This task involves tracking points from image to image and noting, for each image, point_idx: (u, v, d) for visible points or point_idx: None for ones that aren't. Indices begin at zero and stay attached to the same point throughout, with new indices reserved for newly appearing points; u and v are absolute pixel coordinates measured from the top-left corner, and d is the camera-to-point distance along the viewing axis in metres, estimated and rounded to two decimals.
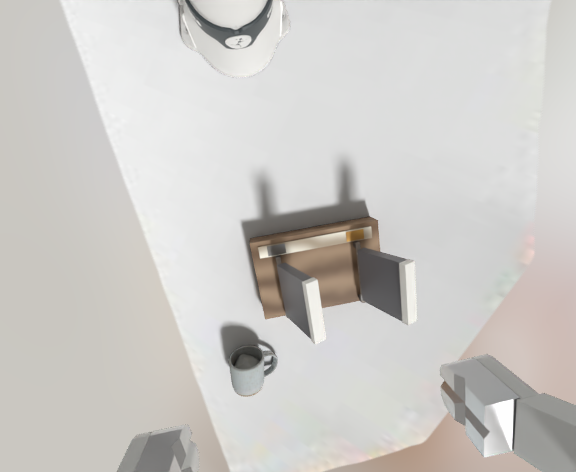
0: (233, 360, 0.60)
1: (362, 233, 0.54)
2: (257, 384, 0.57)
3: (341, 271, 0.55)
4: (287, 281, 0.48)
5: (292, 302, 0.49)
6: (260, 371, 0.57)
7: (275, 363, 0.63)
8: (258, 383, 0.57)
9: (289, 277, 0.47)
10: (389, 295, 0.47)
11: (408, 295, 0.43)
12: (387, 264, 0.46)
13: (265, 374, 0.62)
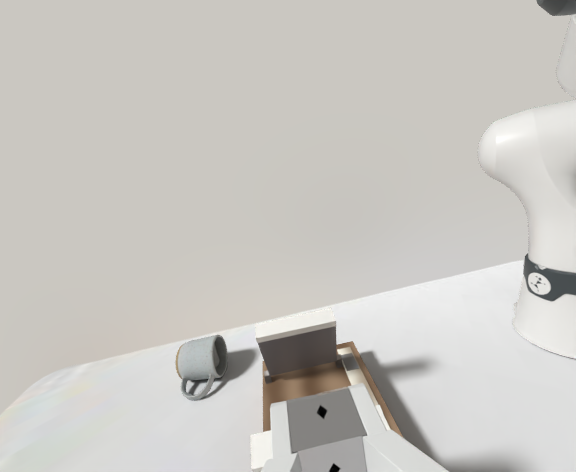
0: (218, 351, 0.56)
1: None
2: (188, 354, 0.50)
3: None
4: None
5: None
6: (201, 358, 0.50)
7: (189, 395, 0.48)
8: (189, 355, 0.50)
9: None
10: None
11: None
12: None
13: (183, 381, 0.50)
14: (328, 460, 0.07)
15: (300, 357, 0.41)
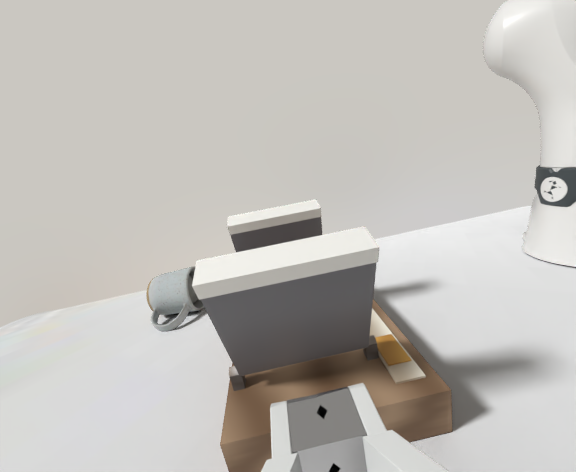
0: None
1: (398, 362, 0.22)
2: (160, 283, 0.45)
3: None
4: None
5: None
6: (174, 286, 0.44)
7: (160, 325, 0.42)
8: (161, 284, 0.45)
9: None
10: None
11: (282, 247, 0.17)
12: None
13: (155, 312, 0.44)
14: (328, 460, 0.07)
15: None
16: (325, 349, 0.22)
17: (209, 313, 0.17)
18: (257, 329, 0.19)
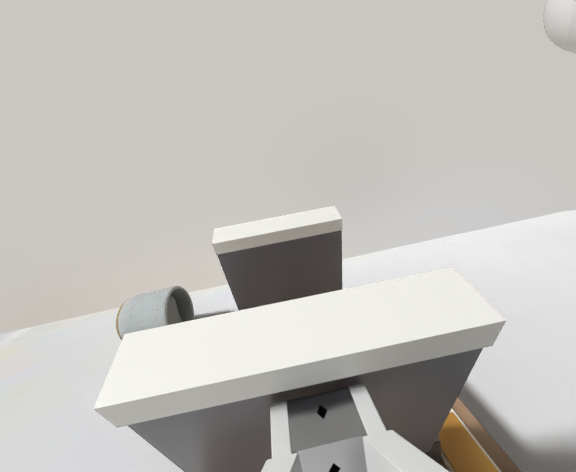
0: (181, 311, 0.42)
1: None
2: (133, 308, 0.36)
3: None
4: None
5: None
6: (150, 313, 0.35)
7: None
8: (134, 310, 0.36)
9: None
10: None
11: (294, 310, 0.08)
12: None
13: None
14: (328, 460, 0.07)
15: (288, 291, 0.27)
16: None
17: (148, 439, 0.09)
18: (246, 450, 0.10)
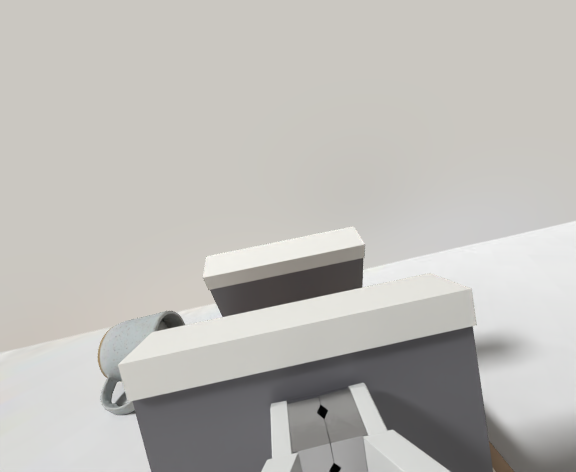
0: None
1: None
2: (117, 339, 0.31)
3: None
4: None
5: None
6: (136, 345, 0.30)
7: (112, 406, 0.28)
8: (118, 341, 0.31)
9: None
10: None
11: (294, 306, 0.10)
12: None
13: (109, 382, 0.31)
14: (329, 460, 0.07)
15: None
16: None
17: (147, 444, 0.08)
18: None
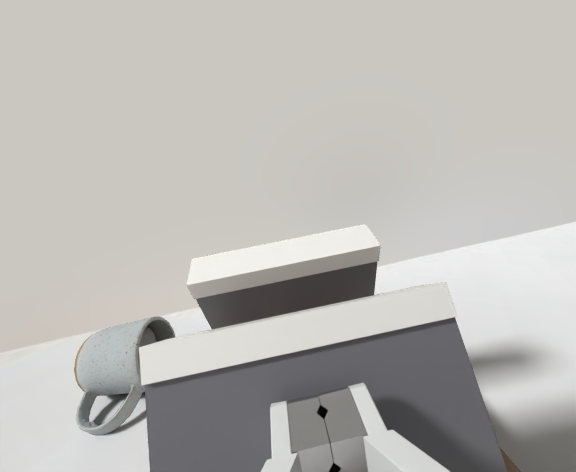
0: None
1: None
2: (96, 349, 0.28)
3: None
4: None
5: None
6: (117, 356, 0.27)
7: (89, 426, 0.25)
8: (97, 351, 0.28)
9: None
10: None
11: (295, 312, 0.11)
12: None
13: (86, 397, 0.28)
14: (329, 460, 0.07)
15: None
16: None
17: (151, 437, 0.09)
18: None
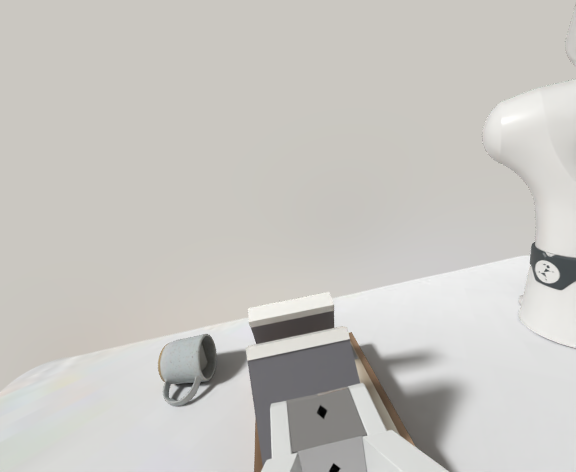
0: (206, 352, 0.52)
1: None
2: (172, 355, 0.46)
3: None
4: None
5: None
6: (186, 359, 0.45)
7: (172, 400, 0.43)
8: (173, 356, 0.45)
9: None
10: None
11: (296, 336, 0.30)
12: None
13: (166, 384, 0.45)
14: (328, 460, 0.07)
15: None
16: None
17: (251, 376, 0.27)
18: (280, 401, 0.27)
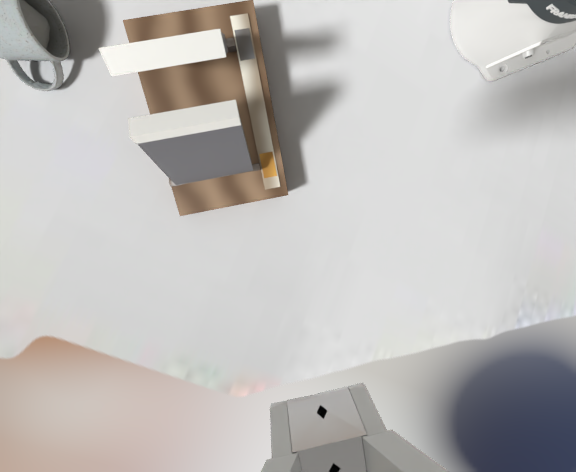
0: (33, 2, 0.34)
1: (270, 176, 0.41)
2: None
3: None
4: None
5: None
6: (19, 43, 0.32)
7: (39, 86, 0.38)
8: None
9: None
10: None
11: (182, 112, 0.27)
12: None
13: (12, 64, 0.36)
14: (328, 460, 0.07)
15: None
16: (226, 171, 0.37)
17: (145, 151, 0.29)
18: (178, 160, 0.32)
